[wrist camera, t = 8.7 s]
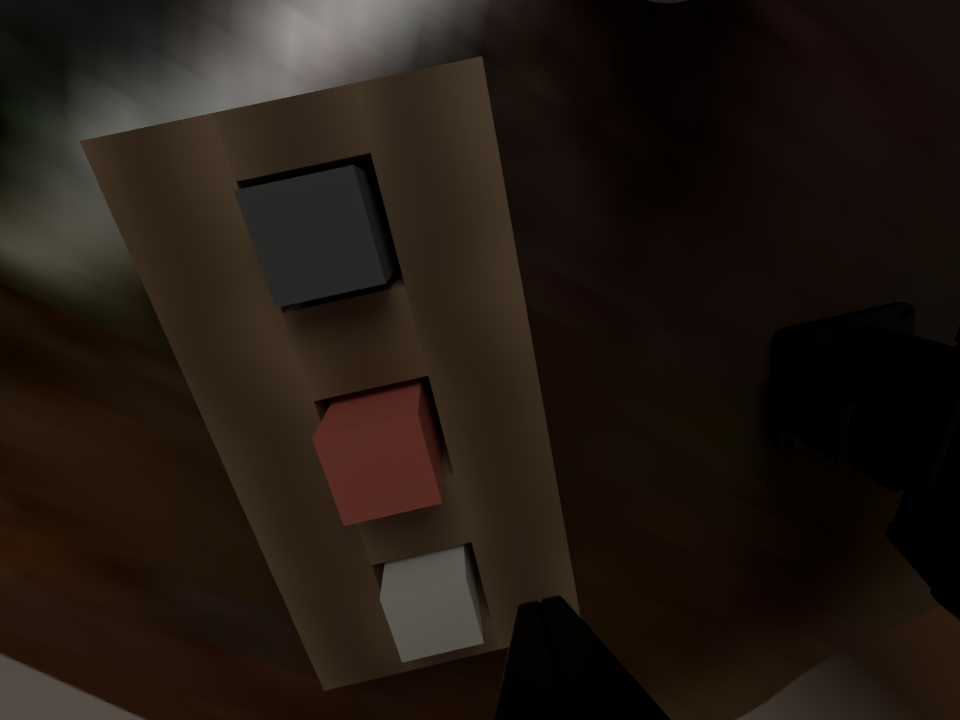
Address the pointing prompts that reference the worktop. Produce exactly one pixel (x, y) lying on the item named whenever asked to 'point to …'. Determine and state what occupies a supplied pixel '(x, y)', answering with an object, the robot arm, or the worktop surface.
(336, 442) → the plug red
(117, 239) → the worktop surface
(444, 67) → the block
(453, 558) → the plug white
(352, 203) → the gray rectangular block
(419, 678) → the worktop surface
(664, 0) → the supplement bottle
